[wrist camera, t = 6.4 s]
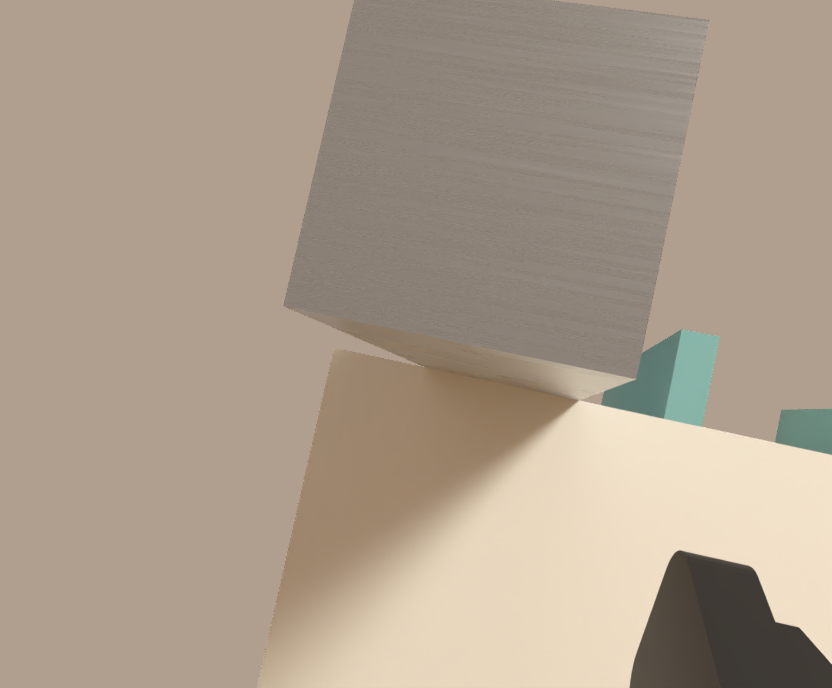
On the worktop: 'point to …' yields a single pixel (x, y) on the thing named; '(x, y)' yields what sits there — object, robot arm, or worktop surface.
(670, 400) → the channel ribs
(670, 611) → the robot arm
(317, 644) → the stand
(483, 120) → the grey square bar
